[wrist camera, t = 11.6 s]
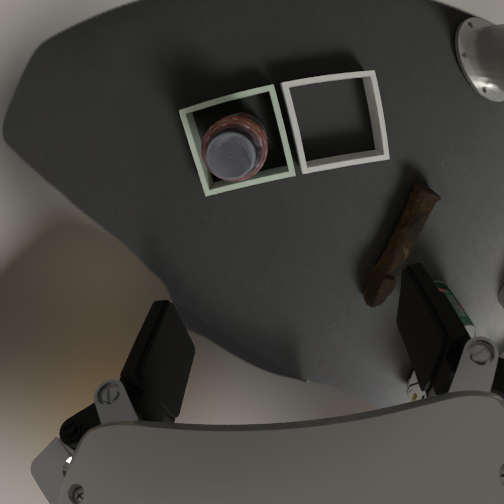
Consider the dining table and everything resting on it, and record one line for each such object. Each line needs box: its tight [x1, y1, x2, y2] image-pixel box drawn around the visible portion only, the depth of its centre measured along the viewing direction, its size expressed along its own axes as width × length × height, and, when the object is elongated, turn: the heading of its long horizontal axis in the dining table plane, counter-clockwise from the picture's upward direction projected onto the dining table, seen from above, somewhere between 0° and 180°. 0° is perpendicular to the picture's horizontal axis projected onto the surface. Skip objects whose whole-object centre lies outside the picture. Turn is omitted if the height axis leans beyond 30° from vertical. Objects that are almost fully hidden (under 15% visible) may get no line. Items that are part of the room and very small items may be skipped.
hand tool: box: [364, 182, 441, 307], centre depth 36 cm, size 19×4×5 cm, turn 162°
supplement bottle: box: [201, 112, 268, 181], centre depth 27 cm, size 6×6×11 cm
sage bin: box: [179, 84, 296, 196], centre depth 30 cm, size 10×10×3 cm
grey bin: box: [280, 70, 389, 174], centre depth 29 cm, size 10×10×3 cm
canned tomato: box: [433, 280, 477, 338], centre depth 37 cm, size 8×8×11 cm
